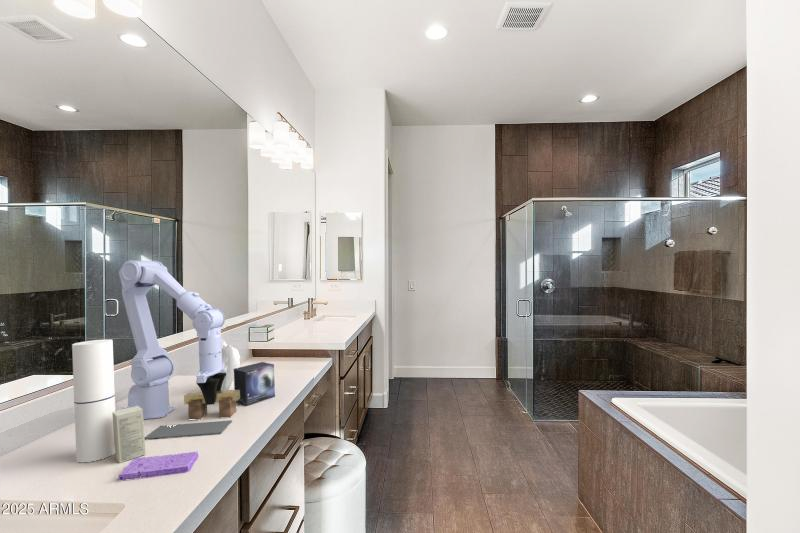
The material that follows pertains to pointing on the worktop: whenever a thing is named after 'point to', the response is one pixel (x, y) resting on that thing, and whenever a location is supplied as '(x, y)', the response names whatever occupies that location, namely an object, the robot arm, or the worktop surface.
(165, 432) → the mat
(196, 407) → the posts
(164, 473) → the sponges
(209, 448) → the worktop surface
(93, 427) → the cylindrical container
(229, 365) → the shell sculpture
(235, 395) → the rail
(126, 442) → the skincare box
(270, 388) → the small box
